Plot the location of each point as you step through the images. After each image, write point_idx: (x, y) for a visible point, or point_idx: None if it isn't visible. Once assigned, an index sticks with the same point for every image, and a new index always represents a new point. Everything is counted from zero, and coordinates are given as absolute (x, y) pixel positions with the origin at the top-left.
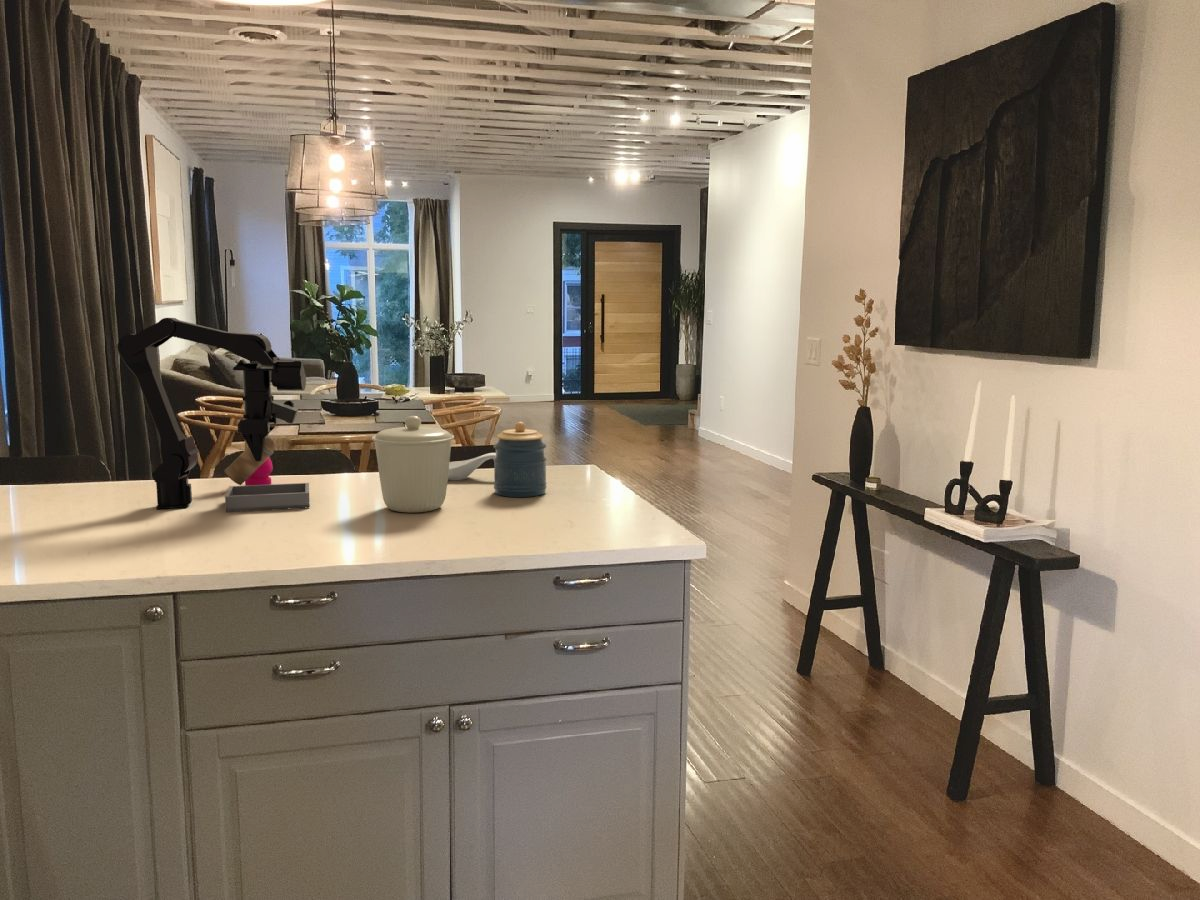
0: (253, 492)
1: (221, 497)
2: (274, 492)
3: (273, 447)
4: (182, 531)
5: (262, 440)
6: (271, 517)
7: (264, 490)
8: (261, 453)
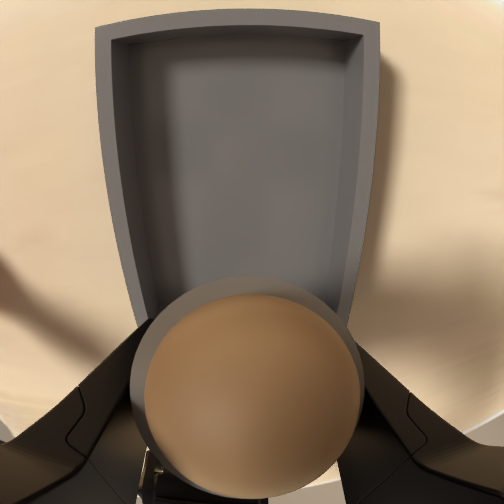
0: (143, 255)
1: (98, 328)
2: (132, 175)
3: (316, 314)
4: (469, 341)
5: (461, 437)
6: (451, 172)
7: (135, 218)
8: (372, 359)
